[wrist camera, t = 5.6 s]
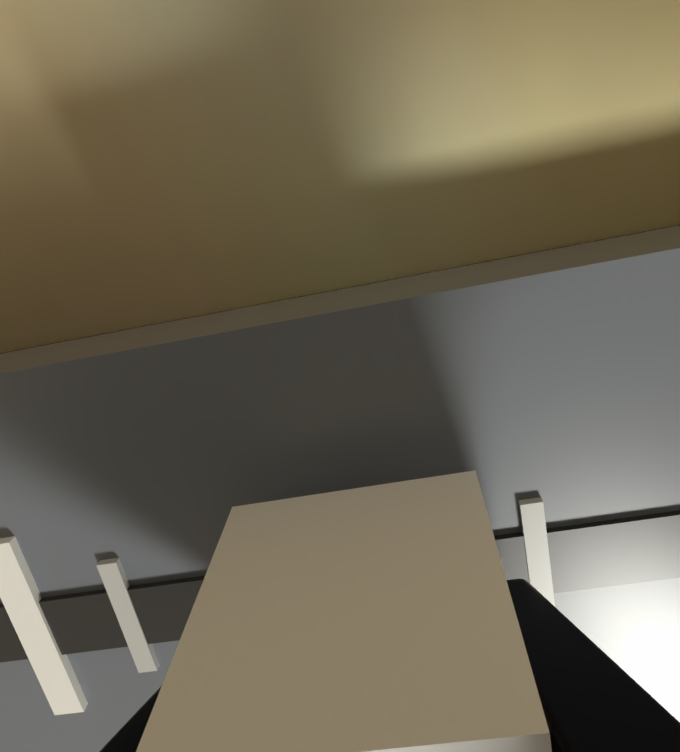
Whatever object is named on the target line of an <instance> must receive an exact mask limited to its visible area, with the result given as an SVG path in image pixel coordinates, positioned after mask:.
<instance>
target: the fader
mask: <svg viewBox="0 0 680 752" xmlns="http://www.w3.org/2000/svg"><path fill="white" fill-rule="evenodd" d="M136 752H552V748H551V740H550V733H549V729H548V725H547V722H546V718H545V715H544V711H543V708H542V704H541V701H540V697H539V694H538V690H537V686H536V683H535V679H534V676H533V672H532V669H531V665H530V662H529V658H528V655H527V651H526V647H525V644H524V640H523V637H522V633H521V630H520V626H519V623H518V619H517V616H516V612H515V608H514V605H513V601H512V598H511V594H510V591H509V587H508V584H507V580H506V577H505V573H504V569H503V566H502V562H501V559H500V555H499V552H498V548H497V545H496V541H495V538H494V534H493V531H492V527H491V523H490V520H489V516H488V513H487V509H486V506H485V502H484V499H483V495H482V492H481V488H480V484H479V481H478V477H477V474H476V470H474V471H468V472H461V473H454V474H448V475H441V476H434V477H428V478H421V479H414V480H408V481H401V482H394V483H388V484H381V485H374V486H368V487H361V488H354V489H348V490H341V491H334V492H328V493H321V494H314V495H308V496H301V497H294V498H288V499H281V500H274V501H268V502H261V503H254V504H248V505H241V506H234V507H232V509H231V511H230V514H229V516H228V519H227V522H226V524H225V527H224V529H223V532H222V534H221V537H220V539H219V542H218V544H217V547H216V550H215V552H214V555H213V557H212V560H211V562H210V565H209V567H208V570H207V572H206V575H205V577H204V580H203V583H202V585H201V588H200V590H199V593H198V595H197V598H196V600H195V603H194V605H193V608H192V610H191V613H190V616H189V618H188V621H187V623H186V626H185V628H184V631H183V633H182V636H181V638H180V641H179V643H178V646H177V649H176V651H175V654H174V656H173V659H172V661H171V664H170V666H169V669H168V671H167V674H166V677H165V679H164V682H163V684H162V687H161V689H160V692H159V694H158V697H157V699H156V702H155V704H154V707H153V710H152V712H151V715H150V717H149V720H148V722H147V725H146V727H145V730H144V732H143V735H142V737H141V740H140V743H139V745H138V748H137V750H136Z"/></svg>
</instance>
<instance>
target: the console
mask: <svg viewBox="0 0 680 752" xmlns="http://www.w3.org/2000/svg"><path fill="white" fill-rule="evenodd" d="M474 470H476V474H477V477H478V481H479V484H480V488H481V492H482V495H483V499H484V502H485V506H486V509H487V513H488V516H489V520H490V523H491V527H492V531H493V534H494V538H495V541H496V545H497V548H498V552H499V555H500V559H501V562H502V566H503V569H504V573H505V577H506V580H511V579H525V580H526V581H528V582H529V583H530V584H531V585H532V586H533V587H534V588H535V589H536V590H537V591H538V592H540V593H541V594H542V595H543V596H544V597H545V598H546V599H547V600H548V601H549V602H550V603H551V604H553V605H554V606H555V607H556V608H557V609H558V610H559V611H560V612H561V613H562V614H563V615H564V616H565V617H567V618H568V619H569V620H570V621H571V622H572V623H573V624H574V625H575V626H576V627H577V628H578V629H580V630H581V631H582V632H583V633H584V634H585V635H586V636H587V637H588V638H589V639H590V640H591V641H592V642H594V643H595V644H596V645H597V646H598V647H599V648H600V649H601V650H602V651H603V652H604V653H605V654H607V655H608V656H609V657H610V658H611V659H612V660H613V661H614V662H615V663H616V664H617V665H618V666H619V667H621V668H622V669H623V670H624V671H625V672H626V673H627V674H628V675H629V676H630V677H631V678H632V679H634V680H635V681H636V682H637V683H638V684H639V685H640V686H641V687H642V688H643V689H644V690H645V691H646V692H648V693H649V694H650V695H651V696H652V697H653V698H654V699H655V700H656V701H657V702H658V703H659V704H660V705H662V706H663V707H664V708H665V709H666V710H667V711H668V712H669V713H670V714H671V715H672V716H673V717H675V718H676V719H677V720H678V721H679V722H680V225H679V226H674V227H669V228H663V229H658V230H653V231H647V232H642V233H637V234H632V235H626V236H621V237H616V238H610V239H605V240H600V241H595V242H589V243H584V244H579V245H573V246H568V247H563V248H557V249H552V250H547V251H542V252H536V253H531V254H526V255H520V256H515V257H510V258H505V259H499V260H494V261H489V262H483V263H478V264H473V265H467V266H462V267H457V268H452V269H446V270H441V271H436V272H430V273H425V274H420V275H414V276H409V277H404V278H399V279H393V280H388V281H383V282H377V283H372V284H367V285H362V286H356V287H351V288H346V289H340V290H335V291H330V292H324V293H319V294H314V295H309V296H303V297H298V298H293V299H287V300H282V301H277V302H271V303H266V304H261V305H256V306H250V307H245V308H240V309H234V310H229V311H224V312H219V313H213V314H208V315H203V316H197V317H192V318H187V319H181V320H176V321H171V322H166V323H160V324H155V325H150V326H144V327H139V328H134V329H128V330H123V331H118V332H113V333H107V334H102V335H97V336H91V337H86V338H81V339H76V340H70V341H65V342H60V343H54V344H49V345H44V346H38V347H33V348H28V349H23V350H17V351H12V352H7V353H1V354H0V752H99V751H100V750H101V749H102V748H103V747H104V746H105V745H106V743H107V742H108V741H109V740H110V739H111V738H112V737H113V736H114V735H115V734H116V733H117V732H118V731H119V730H120V729H121V728H122V727H123V726H124V725H125V724H126V723H127V721H128V720H129V719H130V718H131V717H132V716H133V715H134V714H135V713H136V712H137V711H138V710H139V709H140V708H141V707H142V706H143V705H144V704H145V703H146V702H147V700H148V699H149V698H150V697H151V696H152V695H153V694H154V693H155V692H156V691H157V690H158V689H159V688H160V687H161V686H162V684H163V682H164V679H165V677H166V674H167V671H168V669H169V666H170V664H171V661H172V659H173V656H174V654H175V651H176V649H177V646H178V643H179V641H180V638H181V636H182V633H183V631H184V628H185V626H186V623H187V621H188V618H189V616H190V613H191V610H192V608H193V605H194V603H195V600H196V598H197V595H198V593H199V590H200V588H201V585H202V583H203V580H204V577H205V575H206V572H207V570H208V567H209V565H210V562H211V560H212V557H213V555H214V552H215V550H216V547H217V544H218V542H219V539H220V537H221V534H222V532H223V529H224V527H225V524H226V522H227V519H228V516H229V514H230V511H231V509H232V507H234V506H241V505H248V504H254V503H261V502H268V501H274V500H281V499H288V498H294V497H301V496H308V495H314V494H321V493H328V492H334V491H341V490H348V489H354V488H361V487H368V486H374V485H381V484H388V483H394V482H401V481H408V480H414V479H421V478H428V477H434V476H441V475H448V474H454V473H461V472H468V471H474Z"/></svg>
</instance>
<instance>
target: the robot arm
mask: <svg viewBox="0 0 680 752" xmlns="http://www.w3.org/2000/svg"><path fill="white" fill-rule="evenodd" d="M507 584H508V587H509V591H510V594H511V598H512V601H513V605H514V608H515V612H516V616H517V619H518V623H519V626H520V630H521V633H522V637H523V640H524V644H525V647H526V651H527V655H528V658H529V662H530V665H531V669H532V672H533V676H534V679H535V683H536V686H537V690H538V694H539V697H540V701H541V704H542V708H543V711H544V715H545V718H546V722H547V725H548V729H549V733H550V740H551V748H552V752H680V722H679V721H678V720H677V719H676V718H675V717H673V716H672V715H671V714H670V713H669V712H668V711H667V710H666V709H665V708H664V707H663V706H662V705H660V704H659V703H658V702H657V701H656V700H655V699H654V698H653V697H652V696H651V695H650V694H649V693H648V692H646V691H645V690H644V689H643V688H642V687H641V686H640V685H639V684H638V683H637V682H636V681H635V680H634V679H632V678H631V677H630V676H629V675H628V674H627V673H626V672H625V671H624V670H623V669H622V668H621V667H619V666H618V665H617V664H616V663H615V662H614V661H613V660H612V659H611V658H610V657H609V656H608V655H607V654H605V653H604V652H603V651H602V650H601V649H600V648H599V647H598V646H597V645H596V644H595V643H594V642H592V641H591V640H590V639H589V638H588V637H587V636H586V635H585V634H584V633H583V632H582V631H581V630H580V629H578V628H577V627H576V626H575V625H574V624H573V623H572V622H571V621H570V620H569V619H568V618H567V617H565V616H564V615H563V614H562V613H561V612H560V611H559V610H558V609H557V608H556V607H555V606H554V605H553V604H551V603H550V602H549V601H548V600H547V599H546V598H545V597H544V596H543V595H542V594H541V593H540V592H538V591H537V590H536V589H535V588H534V587H533V586H532V585H531V584H530V583H529V582H528V581H526V580H525V579H511V580H507ZM161 687H162V686H161ZM161 687H160V688H159V689H158V690H157V691H156V692H155V693H154V694H153V695H152V696H151V697H150V698H149V699H148V700H147V702H146V703H145V704H144V705H143V706H142V707H141V708H140V709H139V710H138V711H137V712H136V713H135V714H134V715H133V716H132V717H131V718H130V719H129V720H128V721H127V723H126V724H125V725H124V726H123V727H122V728H121V729H120V730H119V731H118V732H117V733H116V734H115V735H114V736H113V737H112V738H111V739H110V740H109V741H108V742H107V743H106V745H105V746H104V747H103V748H102V749H101V750H100V751H99V752H136V750H137V748H138V745H139V743H140V740H141V737H142V735H143V732H144V730H145V727H146V725H147V722H148V720H149V717H150V715H151V712H152V710H153V707H154V704H155V702H156V699H157V697H158V694H159V692H160V689H161Z"/></svg>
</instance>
